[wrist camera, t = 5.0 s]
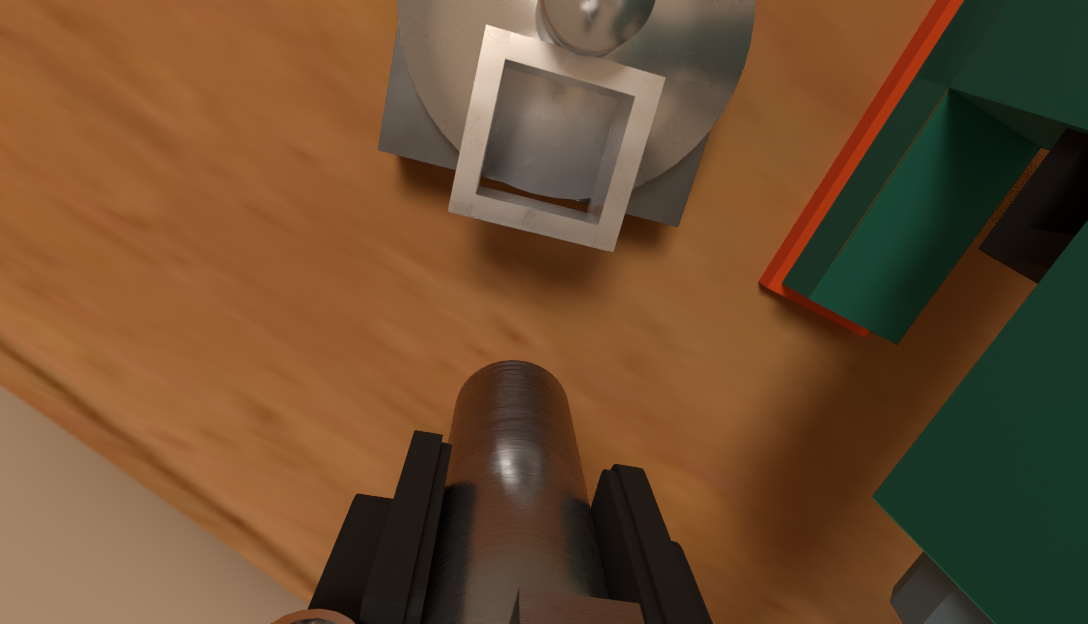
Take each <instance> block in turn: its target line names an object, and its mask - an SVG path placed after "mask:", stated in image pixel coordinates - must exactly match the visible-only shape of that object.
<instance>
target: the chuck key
mask: <svg viewBox="0 0 1088 624" xmlns="http://www.w3.org/2000/svg"><path fill="white" fill-rule="evenodd" d="M448 444H452V449H451V455H450V460H449V466H448V472H447V477H446V483H445V488H444V494H443V500H442V505H441V511H440V516H439V522H438V527H437V533H436V539H435V544H434V550H433V555H432V561H431V566H430V572H429V578H428V583H427V589H426V594H425V599H424V605H423V610H422V615H421V620H420V624H645V623H644V620H643V616H642V612H641V609H640V605H639V603H632V602H624V601H617V600H610V599H609V596H608V591H607V586H606V582H605V577H604V572H603V567H602V562H601V558H600V553H599V548H598V543H597V538H596V534H595V529H594V524H593V519H592V514H591V510H590V505H589V500H588V495H587V490H586V486H585V481H584V476H583V471H582V466H581V462H580V457H579V452H578V447H577V442H576V438H575V433H574V428H573V423H572V418H571V414H570V409H569V404H568V400H567V396H566V393H565V391H564V389H563V387H562V386H561V384H560V383H559V381H558V380H557V379H556V378H555V377H554V376H553V375H552V374H551V373H549V372H548V371H547V370H545V369H543V368H542V367H540V366H538V365H535V364H532V363H529V362H525V361H517V360H508V361H501V362H497V363H493V364H490V365H488V366H486V367H484V368H482V369H480V370H478V371H477V372H476V373H474V374H473V375H472V376H471V377H470V378H469V379H468V380H467V381H466V382H465V384H464V385H463V387H462V388H461V390H460V392H459V394H458V397H457V400H456V405H455V410H454V415H453V420H452V425H451V430H450V436H449V441H448Z"/></svg>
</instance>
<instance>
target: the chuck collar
mask: <svg viewBox="0 0 1088 624" xmlns="http://www.w3.org/2000/svg"><path fill="white" fill-rule="evenodd" d="M397 12H398V24H399V31H400V38H401V44H402V48H403V52H404V56H405V59H406V63H407V67H408V70H409V73H410V75H411V78H412V80H413V83H414V85H415V88H416V90H417V93H418V95H419V96H420V98H421V100H422V102H423V104H424V106H425V107H426V109H427V111H428V113H429V115H430V116H431V117H432V119H433V120H434V122H435V123H436V125H437V126H438V127H439V129H440V130H441V132H442V133H443V134H444V135H445V136H446V138H447V139H448V140H449V141H450V142H451V143H452V144H453V145H454V146H455V147H456V148H457V150H458V151H459V152H460V154H459V159H458V164H457V168H456V173H455V178H454V183H453V188H452V193H451V198H450V202H449V207H448V212H451V213H455V214H459V215H463V216H467V217H471V218H475V219H480V220H484V221H488V222H492V223H496V224H500V225H504V226H508V227H512V228H516V229H520V230H524V231H528V232H532V233H536V234H541V235H545V236H549V237H553V238H557V239H561V240H565V241H569V242H573V243H577V244H581V245H585V246H589V247H593V248H597V249H602V250H606V251H610V252H614V248H615V245H616V242H617V238H618V235H619V232H620V228H621V225H622V222H623V218H624V215H625V212H626V208H627V205H628V202H629V198H630V195H631V192H632V188H634V187H637V186H640V185H642V184H644V183H645V182H647V181H649V180H651V179H653V178H655V177H657V176H659V175H661V174H662V173H663V172H665V171H666V170H668V169H669V168H671V167H672V166H674V165H675V164H677V163H678V162H679V161H680V160H681V159H682V158H684V157H685V156H686V155H687V154H688V153H689V152H690V151H692V150H693V149H694V148H695V147H696V146H697V144H698V143H699V142H700V141H701V140H702V139H703V138H704V137H705V135H706V134H707V133H708V132H709V131H710V130H711V128H712V127H713V125H714V124H715V122H716V121H717V120H718V118H719V117H720V115H721V114H722V112H723V111H724V109H725V107H726V105H727V103H728V102H729V100H730V98H731V96H732V94H733V92H734V91H735V88H736V86H737V83H738V81H739V78H740V76H741V73H742V71H743V68H744V65H745V61H746V58H747V54H748V50H749V47H750V43H751V36H752V30H753V24H754V16H755V0H397ZM483 171H485V172H486V173H488V174H490V175H491V176H493V177H494V178H496V179H498V180H500V181H502V182H504V183H506V184H508V185H511V186H513V187H515V188H518V189H521V190H524V191H527V192H530V193H533V194H537V195H542V196H548V197H553V198H564V199H585V198H591V199H590V203H589V206H588V210H587V213H586V212H583V211H579V210H575V209H571V208H567V207H563V206H559V205H555V204H551V203H547V202H543V201H539V200H535V199H531V198H527V197H524V196H520V195H516V194H512V193H508V192H504V191H500V190H496V189H492V188H488V187H484V186H480V181H481V176H482V172H483Z"/></svg>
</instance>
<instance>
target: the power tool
mask: <svg viewBox="0 0 1088 624" xmlns="http://www.w3.org/2000/svg"><path fill="white" fill-rule="evenodd" d="M1040 148H1043V149H1046V150H1049V153H1048V154H1047V156H1046V157H1045V158H1044V160H1043V161H1042V162H1041V164H1040V165H1039V166H1038V168H1037V169H1036V171H1035V172H1034V173H1033V175H1032V176H1031V177H1030V179H1029V180H1028V181H1027V183H1026V184H1025V185H1024V187H1023V188H1022V190H1021V191H1020V192H1019V194H1018V195H1017V196H1016V198H1015V199H1014V200H1013V202H1012V203H1011V205H1010V206H1009V207H1008V209H1007V210H1006V211H1005V213H1004V214H1003V215H1002V217H1001V218H1000V219H999V221H998V222H997V224H996V225H995V226H994V228H993V229H992V230H991V232H990V233H989V234H988V236H987V237H986V239H985V240H984V241H983V243H982V244H981V245H980V247H979V248H978V249H979V250H981V251H982V252H984V253H986V254H987V255H989V256H991V257H993V258H994V259H996V260H998V261H999V262H1001V263H1003V264H1005V265H1006V266H1008V267H1010V268H1011V269H1013V270H1015V271H1017V272H1018V273H1020V274H1022V275H1023V276H1025V277H1027V278H1029V279H1030V280H1032V281H1034V282H1035V283H1037V286H1036V287H1035V288H1034V290H1033V291H1032V292H1031V293H1030V295H1029V296H1028V297H1027V299H1026V300H1025V301H1024V302H1023V304H1022V305H1021V306H1020V308H1019V309H1018V310H1017V311H1016V313H1015V314H1014V315H1013V317H1012V318H1011V319H1010V320H1009V322H1008V323H1007V324H1006V325H1005V327H1004V328H1003V329H1002V331H1001V332H1000V333H999V334H998V336H997V337H996V338H995V340H994V341H993V342H992V343H991V345H990V346H989V347H988V349H987V350H986V351H985V352H984V354H983V355H982V356H981V358H980V359H979V360H978V361H977V363H976V364H975V365H974V366H973V368H972V369H971V370H970V372H969V373H968V374H967V375H966V377H965V378H964V379H963V381H962V382H961V383H960V384H959V386H958V387H957V388H956V390H955V391H954V392H953V393H952V395H951V396H950V397H949V399H948V400H947V401H946V402H945V404H944V405H943V406H942V407H941V409H940V410H939V411H938V413H937V414H936V415H935V416H934V418H933V419H932V420H931V422H930V423H929V424H928V425H927V427H926V428H925V429H924V431H923V432H922V433H921V434H920V436H919V437H918V438H917V440H916V441H915V442H914V443H913V445H912V446H911V447H910V448H909V450H908V451H907V452H906V454H905V455H904V456H903V457H902V459H901V460H900V461H899V463H898V464H897V465H896V466H895V468H894V469H893V470H892V472H891V473H890V474H889V475H888V477H887V478H886V479H885V480H884V482H883V483H882V484H881V486H880V487H879V488H878V489H877V491H876V492H875V493H874V495H873V496H872V498H873V499H874V500H875V501H876V502H877V503H878V505H879V506H880V507H881V508H882V509H883V510H884V511H885V512H886V513H887V514H888V515H889V516H890V517H891V518H892V519H893V520H894V521H895V522H896V523H897V524H898V525H899V526H900V527H901V528H902V529H903V530H904V531H905V532H906V533H907V534H908V535H909V536H910V537H911V538H912V539H913V540H914V541H915V543H916V544H917V545H918V546H919V547H920V548H921V549H922V550H923V553H922V554H921V555H920V556H919V557H918V558H917V560H916V561H915V562H914V563H913V564H912V566H911V567H910V568H909V569H908V570H907V572H906V573H905V574H904V575H903V576H902V578H901V579H900V580H899V581H898V582H897V584H896V585H895V586H894V588H893V592H892V596H891V600H890V603H891V604H892V606H893V608H894V609H895V611H896V613H897V614H898V616H899V618H900V619H901V621H902V623H903V624H1088V0H936V2H935V3H934V5H933V6H932V8H931V10H930V11H929V13H928V14H927V16H926V18H925V19H924V21H923V22H922V24H921V25H920V27H919V29H918V30H917V32H916V33H915V35H914V37H913V38H912V40H911V41H910V43H909V44H908V46H907V48H906V49H905V51H904V52H903V54H902V56H901V57H900V59H899V60H898V62H897V63H896V65H895V67H894V68H893V70H892V71H891V73H890V75H889V76H888V78H887V79H886V81H885V82H884V84H883V86H882V87H881V89H880V90H879V92H878V94H877V95H876V97H875V98H874V100H873V101H872V103H871V105H870V106H869V108H868V109H867V111H866V113H865V114H864V116H863V117H862V119H861V120H860V122H859V124H858V125H857V127H856V128H855V130H854V131H853V133H852V135H851V136H850V138H849V139H848V141H847V143H846V144H845V146H844V147H843V149H842V150H841V152H840V154H839V155H838V157H837V158H836V160H835V162H834V163H833V165H832V166H831V168H830V169H829V171H828V173H827V174H826V176H825V177H824V179H823V181H822V182H821V184H820V185H819V187H818V188H817V190H816V192H815V193H814V195H813V196H812V198H811V200H810V201H809V203H808V204H807V206H806V207H805V209H804V211H803V212H802V214H801V215H800V217H799V219H798V220H797V222H796V223H795V225H794V226H793V228H792V230H791V231H790V233H789V234H788V236H787V238H786V239H785V241H784V242H783V244H782V245H781V247H780V249H779V250H778V252H777V253H776V255H775V257H774V258H773V260H772V261H771V263H770V264H769V266H768V268H767V269H766V271H765V272H764V274H763V275H762V277H761V279H760V280H759V283H760V284H762V285H764V286H765V287H767V288H769V289H770V290H772V291H774V292H776V293H778V294H780V295H782V296H784V297H786V298H788V299H790V300H792V301H794V302H796V303H798V304H800V305H802V306H803V307H805V308H807V309H809V310H811V311H813V312H815V313H817V314H819V315H821V316H823V317H825V318H827V319H829V320H831V321H833V322H835V323H836V324H838V325H840V326H842V327H844V328H846V329H848V330H850V331H852V332H854V333H856V334H858V335H860V336H862V337H864V338H866V337H867V336H868V334H869V333H870V332H873V333H875V334H877V335H879V336H881V337H883V338H885V339H887V340H889V341H891V342H893V343H895V344H896V345H897V344H898V343H899V342H900V340H901V339H902V337H903V336H904V335H905V333H906V332H907V331H908V329H909V328H910V326H911V325H912V324H913V322H914V321H915V320H916V318H917V317H918V316H919V314H920V313H921V311H922V310H923V309H924V307H925V306H926V305H927V303H928V302H929V300H930V299H931V298H932V296H933V295H934V294H935V292H936V291H937V289H938V288H939V287H940V285H941V284H942V283H943V281H944V280H945V279H946V277H947V276H948V274H949V273H950V272H951V270H952V269H953V268H954V266H955V265H956V263H957V262H958V261H959V259H960V258H961V257H962V255H963V254H964V252H965V251H966V250H967V248H968V247H969V246H970V244H971V243H972V241H973V240H974V239H975V237H976V236H977V235H978V233H979V232H980V231H981V229H982V228H983V226H984V225H985V224H986V222H987V221H988V220H989V218H990V217H991V215H992V214H993V213H994V211H995V210H996V209H997V207H998V206H999V204H1000V203H1001V202H1002V200H1003V199H1004V198H1005V196H1006V195H1007V194H1008V192H1009V191H1010V189H1011V188H1012V187H1013V185H1014V184H1015V183H1016V181H1017V180H1018V178H1019V177H1020V176H1021V174H1022V173H1023V172H1024V170H1025V169H1026V167H1027V166H1028V165H1029V163H1030V162H1031V161H1032V159H1033V158H1034V157H1035V155H1036V154H1037V152H1038V151H1039V150H1040Z"/></svg>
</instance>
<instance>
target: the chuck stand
mask: <svg viewBox="0 0 1088 624" xmlns="http://www.w3.org/2000/svg"><path fill="white" fill-rule="evenodd" d="M709 132H710V131H709ZM709 132H708V133H707V134H706V135H705V137H704V138H703V139H702V140H701V141H700V142H699V143H698V144H697V146H696V147H695V148H694V149H693V150H692V151H690V152H689V153H688V154H687V155H686V156H685V157H684V158H682V159H681V160H680V161H679V162H678V163H677V164H675V165H674V166H672V167H671V168H669V169H668V170H666V171H665V172H663V173H662V174H661V175H659V176H657V177H655V178H653V179H651V180H649V181H647V182H645V183H644V184H642V185H640V186H637V187H634V188H632V192H631V195H630V198H629V202H628V205H627V208H626V212H625V214H628V215H632V216H636V217H640V218H644V219H648V220H652V221H656V222H660V223H663V224H667V225H671V226H675V227H678V226H679V223H680V220H681V217H682V214H683V211H684V208H685V205H686V202H687V199H688V196H689V193H690V190H691V187H692V183H693V180H694V177H695V174H696V171H697V168H698V165H699V162H700V159H701V156H702V153H703V150H704V147H705V144H706V141H707V138H708V135H709ZM378 150H379V151H383V152H387V153H391V154H394V155H398V156H402V157H406V158H410V159H414V160H418V161H422V162H426V163H430V164H433V165H437V166H441V167H445V168H449V169H453V170H456V168H457V164H458V159H459V154H460V152H459V151H458V150H457V148H456V147H455V146H454V145H453V144H452V143H451V142H450V141H449V140H448V139H447V138H446V136H445V135H444V134H443V133H442V132H441V130H440V129H439V127H438V126H437V125H436V123H435V122H434V120H433V119H432V117H431V116H430V115H429V113H428V111H427V109H426V107H425V106H424V104H423V102H422V100H421V98H420V96H419V95H418V93H417V90H416V88H415V85H414V83H413V80H412V78H411V75H410V73H409V70H408V67H407V63H406V59H405V56H404V52H403V48H402V44H401V38H400V31H399V24H398V29H397V35H396V41H395V47H394V53H393V59H392V66H391V72H390V78H389V84H388V90H387V96H386V102H385V109H384V115H383V121H382V127H381V133H380V139H379V145H378ZM481 177H484V178H488V179H492V180H496V181H500V180H498V179H496V178H494V177H493V176H491V175H490V174H488V173H486V172H485V171H483V172H482V176H481ZM500 182H502V181H500ZM590 199H591V198H585V199H570V200H574V201H578V202H582V203H585V204H589V203H590Z"/></svg>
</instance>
